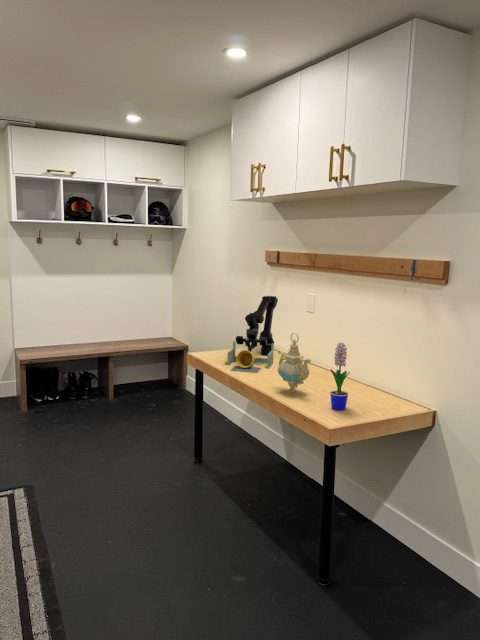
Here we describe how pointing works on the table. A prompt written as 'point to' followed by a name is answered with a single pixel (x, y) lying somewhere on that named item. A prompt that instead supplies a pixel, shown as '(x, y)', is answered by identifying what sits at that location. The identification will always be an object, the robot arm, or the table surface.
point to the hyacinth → (339, 379)
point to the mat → (246, 369)
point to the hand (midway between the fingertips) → (249, 352)
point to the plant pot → (245, 359)
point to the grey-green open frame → (265, 360)
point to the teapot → (293, 366)
